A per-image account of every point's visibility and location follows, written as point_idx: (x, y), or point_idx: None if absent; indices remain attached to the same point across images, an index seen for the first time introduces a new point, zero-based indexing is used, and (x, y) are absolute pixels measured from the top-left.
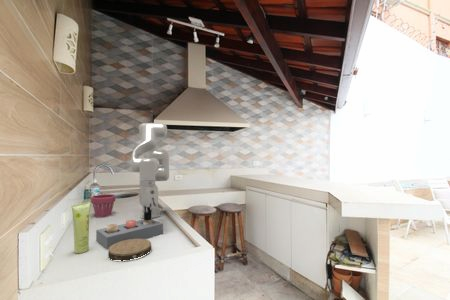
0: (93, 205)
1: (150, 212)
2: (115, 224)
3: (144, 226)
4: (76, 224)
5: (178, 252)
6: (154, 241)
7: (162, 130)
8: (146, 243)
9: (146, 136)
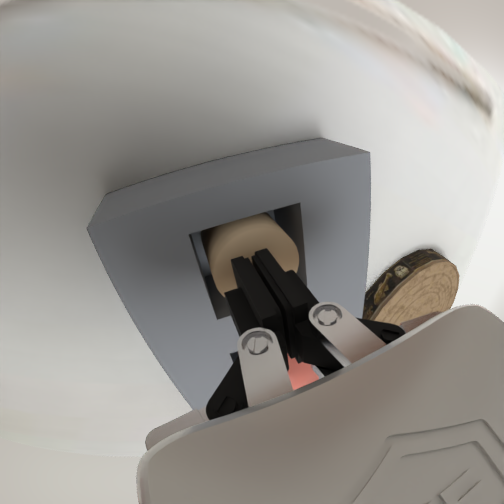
0: None
1: (323, 309)
2: None
3: (333, 294)
4: None
5: (485, 182)
6: (388, 220)
7: None
8: (440, 276)
9: None
